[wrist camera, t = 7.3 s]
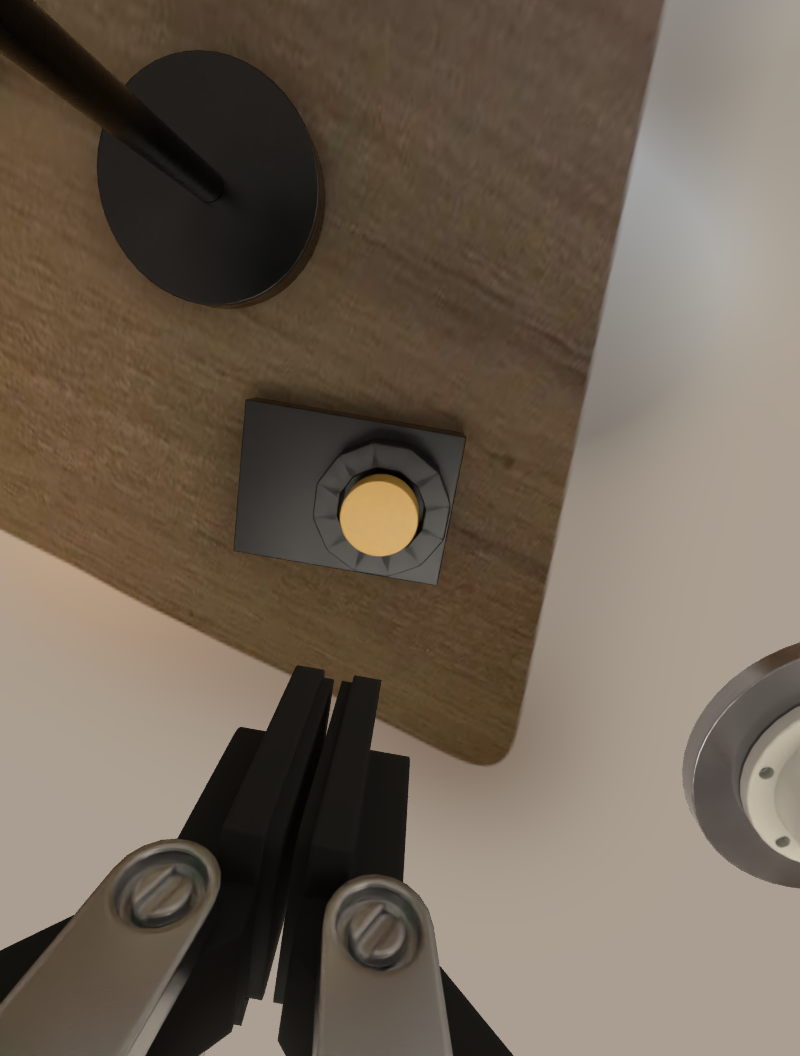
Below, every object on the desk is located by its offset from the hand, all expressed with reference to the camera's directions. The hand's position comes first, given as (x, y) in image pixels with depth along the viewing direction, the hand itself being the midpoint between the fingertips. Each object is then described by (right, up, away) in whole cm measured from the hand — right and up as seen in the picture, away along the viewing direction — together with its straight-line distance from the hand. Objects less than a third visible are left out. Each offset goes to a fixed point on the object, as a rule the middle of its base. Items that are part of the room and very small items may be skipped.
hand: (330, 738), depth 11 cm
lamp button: (0, +5, +16) cm, 17 cm away
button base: (-1, +6, +19) cm, 20 cm away
